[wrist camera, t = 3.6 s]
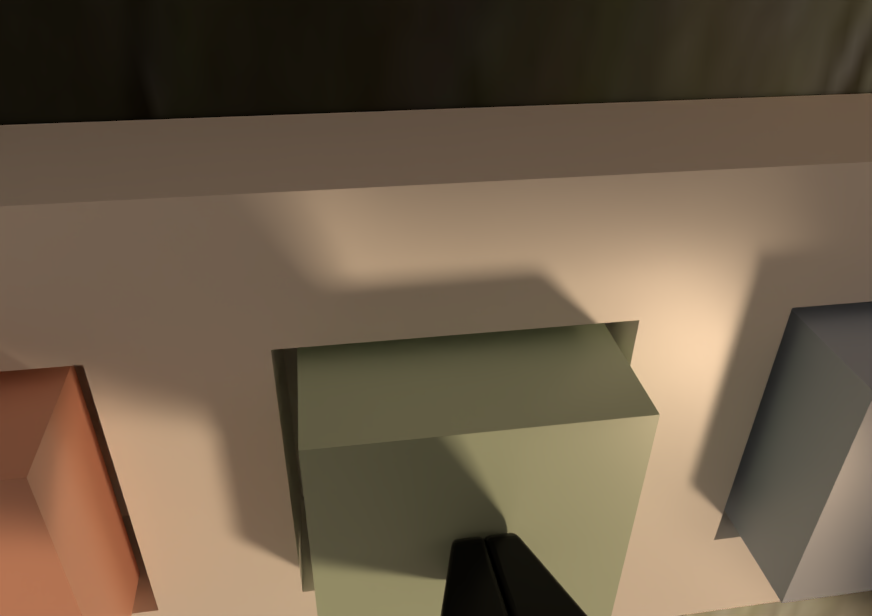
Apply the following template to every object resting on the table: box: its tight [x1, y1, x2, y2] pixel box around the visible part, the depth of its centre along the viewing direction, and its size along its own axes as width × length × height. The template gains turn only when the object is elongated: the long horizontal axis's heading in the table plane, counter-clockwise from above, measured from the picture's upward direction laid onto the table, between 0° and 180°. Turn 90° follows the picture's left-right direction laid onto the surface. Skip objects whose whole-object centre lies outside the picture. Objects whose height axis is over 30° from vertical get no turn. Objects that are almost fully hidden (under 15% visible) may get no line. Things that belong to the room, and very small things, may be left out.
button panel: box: [0, 93, 872, 616], centre depth 12 cm, size 21×9×2 cm, turn 89°
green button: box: [297, 323, 660, 616], centre depth 10 cm, size 4×4×2 cm
